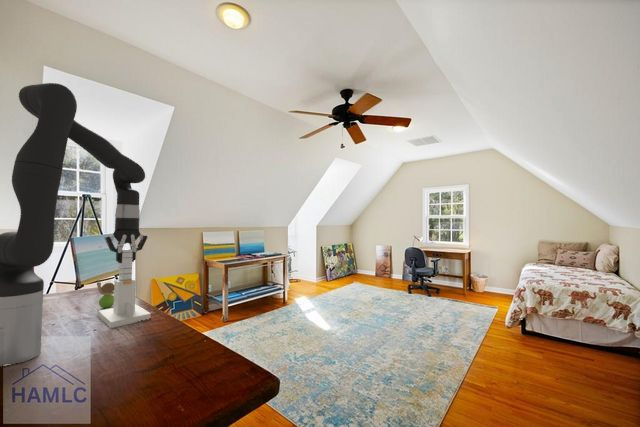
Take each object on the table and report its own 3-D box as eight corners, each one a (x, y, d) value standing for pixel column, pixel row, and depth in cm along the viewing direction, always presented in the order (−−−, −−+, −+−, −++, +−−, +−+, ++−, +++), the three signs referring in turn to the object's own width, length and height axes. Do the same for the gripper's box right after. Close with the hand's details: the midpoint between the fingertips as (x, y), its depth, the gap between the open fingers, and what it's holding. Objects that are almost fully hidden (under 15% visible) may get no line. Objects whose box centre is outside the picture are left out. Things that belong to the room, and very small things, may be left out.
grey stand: (150, 318, 101) (151, 280, 101) (110, 328, 91) (112, 286, 92) (134, 308, 112) (135, 274, 112) (97, 315, 103) (99, 278, 103)
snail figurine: (97, 307, 113) (99, 278, 114) (116, 305, 116) (117, 277, 116) (93, 311, 108) (94, 280, 109) (113, 309, 111) (114, 279, 111)
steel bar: (131, 294, 102) (132, 249, 103) (120, 296, 100) (122, 250, 100) (128, 292, 104) (130, 248, 105) (118, 294, 102) (119, 249, 102)
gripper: (107, 216, 95) (105, 265, 95) (151, 217, 106) (150, 261, 105) (101, 216, 100) (100, 263, 99) (145, 217, 111) (143, 259, 110)
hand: (125, 262), depth 102 cm, fingers closed on steel bar, 3 cm apart
